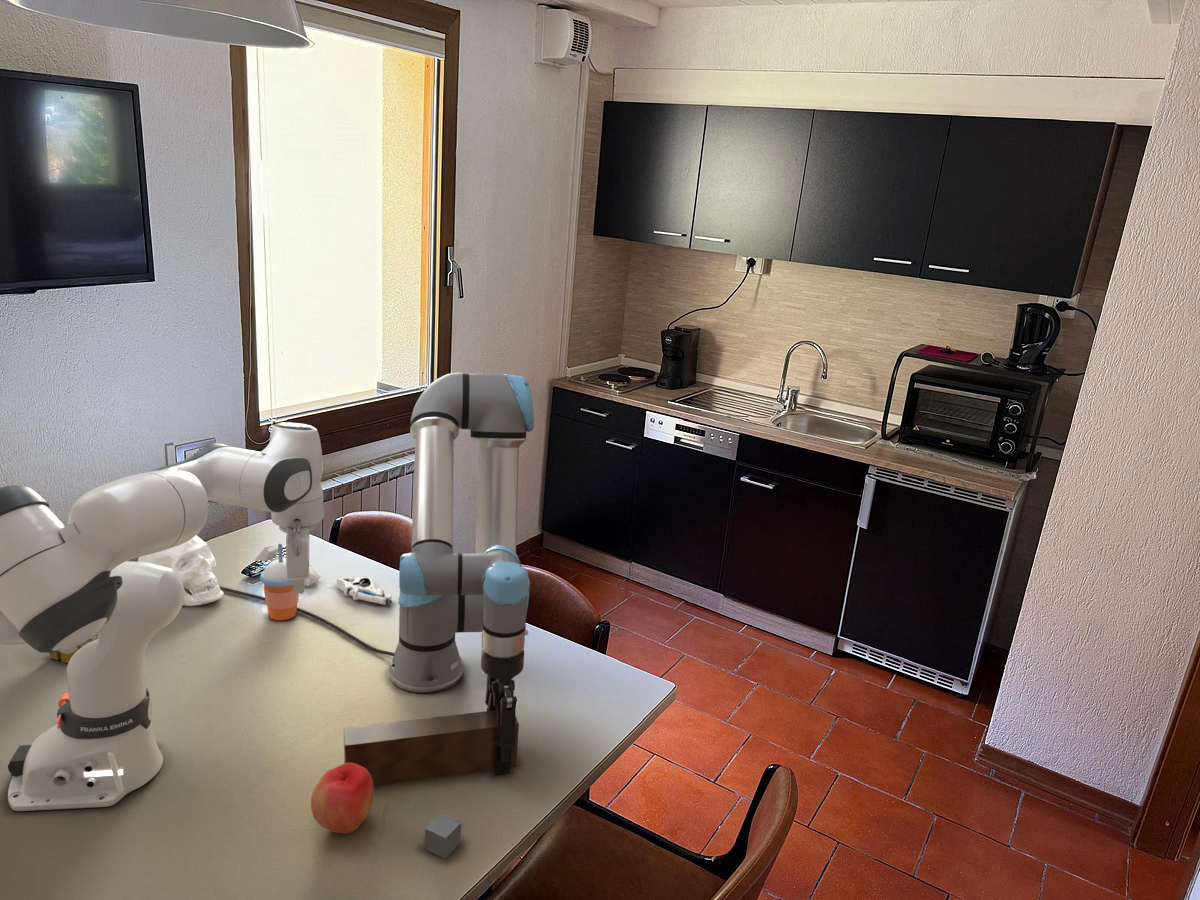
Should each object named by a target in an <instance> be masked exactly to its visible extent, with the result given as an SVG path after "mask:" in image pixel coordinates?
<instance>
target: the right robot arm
mask: <svg viewBox="0 0 1200 900" xmlns="http://www.w3.org/2000/svg"><path fill="white" fill-rule="evenodd" d="M531 389H532V388H531V385H530V382H529V381H528V379H527V378H526V377H524V376H522V375H516V374H507V373H504V374H503V373H501V374H499V373H472V372H471V373H470V372H469V373H465V372H452V373H451V372H450V373H447V374H445V375H442V376H440V377H438V378H437V379H435V380H434V381H433V382H431V383H430V384H429V385H428V386H427V387H426V388H425V390H423V392H422V393H421V394H420V396H419V397H418V399H417V400H416V403H415V405H414V407H413V410H412V413H411V417H410V428H409V429H410V431H409V432H410V435H411V437H412V438H413V439H414V461H413V462H414V463H413V465H414V466H413V489H412V490H413V492H412V493H413V494H412V523H411V546H410V547H411V550H410V552H408V553H403V554H401V556H400V558H399V576H398V577H399V578H398V579H399V580H398V583H399V584H398V585H399V586H398V587H399V596H398V598H397V601H398V605H399V611H398V612H399V616H398V643H397V645H396V648H395V651H394V652H392V651H388V650H382V649H378V648H376V647H374V646H371V645H370V644H367V643H365V642H364V641H363V640H362V639H360V638H358V637H356V636H354V635H353V634H351V633H350V632H348V631H346V630H345V629H343V628H341V627H339V626H338V625H336V624H335V623H332V621H331V622H330V621H329V620H327V619H325V618H323V617H321V616H319V615H317V614H314V613H312V612H309V611H307V610H305V609H302V608H300V607H297V612H299V613H301V614H303V615H306V616H308V617H311V618H312V619H315V620H317V621H320V622H321V623H323V624H325V625H327V626H329V627H331V628H333V629H334V630H336V631H338V632H339V633H341V634H343V635H345V636H346V637H348V638H350V639H351V640H353V641H354V642H356V643H357V644H359V645H360V646H362V647H365V648H366V649H368V650H370V651H372V652H374V653H377V654H381V655H382V654H383V655H386V656H390V657H392V659H391V660H390V666H389V679H390V681H391V682H392V683H393V684H394V685H395V686H396V687H398V688H399V689H401V690H404V691H407V692H410V693H416V694H430V693H431V694H432V693H438V692H441V691H445V690H447V689H450V688H451V687H453V686H455V685H456V684H457V683H458V682H459V681H460V680H461V679H462V676H463V672H464V664H463V660H462V657H461V656H460V653H459V649H458V646H457V642H456V633H459V634H460V633H481V648H482V649H481V658H480V667H481V671H483V673H484V674H485V675H487V676H486V687H485V700H484V704H485V706H487V707H486V711H493V710H497V739H498V741H497V742H493V744H494V747H496V748H495V768H494V769H493V770H494V771H493V773H494V776H499V775H505V774H511V767H510V762H511V748H515V716H516V717H517V715H516V712H517V710H516V709H517V702H518V698H517V696H516V695H514V693H515V692H514V691H515V690H516V685H515V684H516V683H515V679H514V678H515V677H517V676H519V675H520V674H521V673H522V672H523V670H524V666H525V665H524V664H525V643H526V637H525V636H528V635H529V630H528V629H526V628H527V627H526V626H527V613H528V608H529V607H528V606H529V600H530V586H531V581H530V578H529V572H528V570H527V569H526V567H523V565H522V563H521V561H520V558H519V556H518V554H517V534H518V533H517V531H518V530H517V529H518V527H517V526H518V491H519V490H518V489H519V488H518V487H519V484H518V483H519V458H520V457H519V456H520V455H519V452H520V451H519V450H520V447H521V446H522V445H523V444H524V443H525V442H526V441H527V432H528V433H530V432H532V431H533V430H534V428H535V411H534V402H533V395H532V390H531ZM460 430H468V431H469V430H470V439H471V441H472V442H473V443H474V444H475V445H476V447H477V457H476V459H477V462H476V497H475V498H476V501H475V502H476V504H475V505H476V507H475V513H476V514H475V545H474V548H475V549H474V552H475V553H461V552H460V553H454V552H453V549H454V545H453V544H454V452H455V451H454V447H455V445H454V443H455V440H456V439H457V438H458V437H459V434H460V433H459V432H460ZM204 586H205V585H204ZM205 587H206V586H205ZM219 587H220V589H221V591H223V592H224V591H225V592H228V593H232V594H237V595H241V596H245V597H249V598H253V599H256V600H260V601H264V602H266V600H265V596H260V595H256V594H253V593H249V592H244V591H240V590H237V589H232V588H228V587H223V586H220V585H219Z"/></svg>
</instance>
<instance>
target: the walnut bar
mask: <svg viewBox="0 0 1200 900" xmlns="http://www.w3.org/2000/svg"><path fill="white" fill-rule="evenodd" d="M519 727H520V724H519V721H518V718H517V715H516V716H515V748H511V762H510V768H513V767H517V762H518V745H519V729H520V728H519ZM497 741H498V739H497V710H493V711H487V710H485V711H477V712H468V713H461V714H459V713H458V714H452V715H444V716H443V715H441V716H435V717H425V718H418V719H409V720H401V721H395V722H394V721H391V722H384V723H383V722H382V723H375V724H366V725H358V726H350V727H349V726H348V727H343V764H345V763H355V764H358V765H360V766H362V767H364V768H365V769H366V770H367V771H368V772H369V773H370V775H371V778H372V781H373V787H378V786H384V785H385V786H386V785H391V784H392V785H393V784H400V783H406V782H414V781H420V780H427V779H434V778H435V779H436V778H442V777H449V776H456V775H463V774H470V773H478V772H484V771H493V770H494V768H495V748H496V747H494V744H493V742H497Z"/></svg>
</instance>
